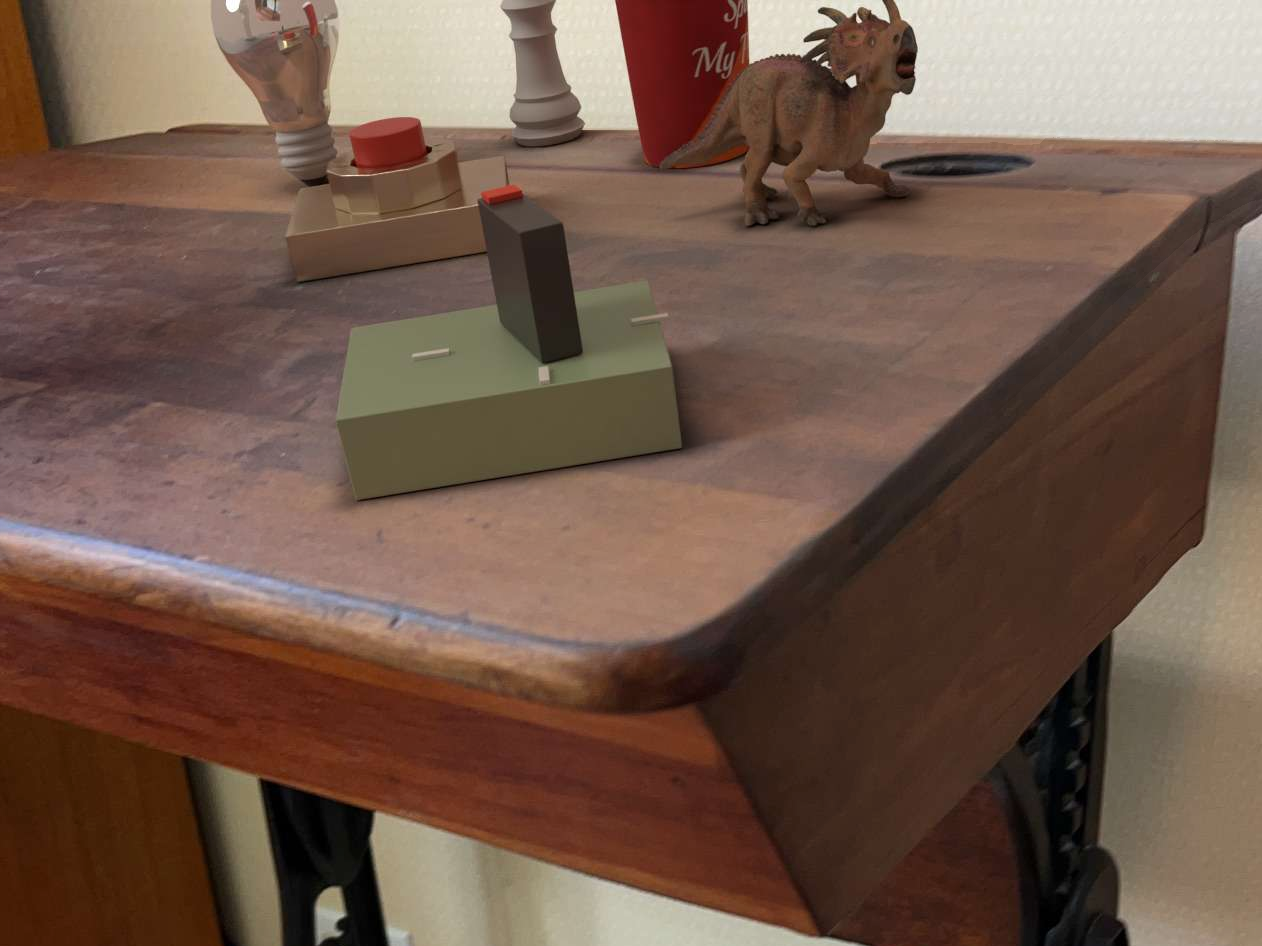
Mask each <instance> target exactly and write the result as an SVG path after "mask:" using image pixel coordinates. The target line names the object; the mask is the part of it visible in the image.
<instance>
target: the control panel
mask: <svg viewBox="0 0 1262 946" xmlns="http://www.w3.org/2000/svg"><path fill="white" fill-rule="evenodd" d="M574 297H575V303H576V310H577V316H578V322H579V329H580V335H581V341H582V348H583V353H581V354H577V355H573V356H569V357H566V358H562V359H558V360H554V361H550V362H546V363H541V362H540V361H539V360H538V359H537V358H536V357H535V356H534V355H533V354H532V353H531V352H530V351H529V350H528V349H527V348H526V347H525V346H524V345H523V344H522V343H521V342H520V341H519V340H518V339H517V338H516V337H515V336H514V335H513V334H511V333H510V332H509V331H508V330H507V329H506V328H505V327H504V326H503V325H502V324H501V323H500V319H499V313H498V308H497V304H491V305H486V306H479V307H474V308H467V309H461V310H455V311H448V312H441V313H435V314H430V315H424V316H418V317H412V318H404V319H399V320H393V321H386V322H380V323H374V324H367V325H362V326H356V327H351V329H350V333H349V340H348V344H347V350H346V357H345V362H344V363H345V364H344V368H343V372H342V373H343V375H342V380H341V384H340V385H341V387H340V390H339V391H340V392H339V398H338V404H337V410H336V414H335V426H336V428H337V432H338V436H339V440H340V444H341V448H342V451H343V456H344V458H345V459H344V460H345V463H346V467H347V471H348V475H349V479H350V483H351V487H352V490H353V494H354V498H355V500H356V501H359V500H366V499H372V498H379V497H384V496H385V497H386V496H391V495H398V494H403V493H404V494H405V493H409V492H416V491H422V490H429V489H434V488H441V487H448V486H454V485H460V484H466V483H473V482H478V481H479V482H480V481H484V480H485V481H486V480H490V479H498V478H503V477H509V476H516V475H523V474H528V473H535V472H540V471H546V470H547V471H548V470H553V469H559V468H566V467H572V466H579V465H585V464H591V463H598V462H604V461H609V460H617V459H623V458H628V457H635V456H642V455H648V454H654V453H661V452H667V451H671V450H678V449H682V448H683V442H682V436H681V435H682V434H681V426H680V418H679V411H678V410H679V409H678V401H677V395H676V385H675V378H674V377H675V376H674V369H673V363H672V360H671V357H670V353H669V350H668V345H667V343H666V339H665V336H664V332H663V328H662V325H661V322H665V321H669V320H670V316H669V312H664V313H658V310H657V306H656V303H655V299H654V296H653V292H652V289H651V285H650V281H649V280H641V281H640V280H639V281H635V282H628V283H622V284H615V285H609V286H604V287H597V288H591V289H585V290H578V291H574Z"/></svg>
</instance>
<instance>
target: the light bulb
mask: <svg viewBox="0 0 1262 946" xmlns="http://www.w3.org/2000/svg"><path fill="white" fill-rule="evenodd" d="M210 20H211V25H212V32H213V35H214V37H215V41H216V43H217V45H218V46H217V47H218V49H219V50H220V52H221V54H222V56H223V57H224V60H225V61H226V62H227V64H228V65H229V67H230V68H231V69H232V70H233V71H234V73H235V74H236V75H237V76H238V78H240V79H241V81H242V82H243V83H244V84H245V86H247V88H248V89H249V90H250V91H251V93H252V94H253V96H254V97H255V98H256V100H257V102H258V104H259V106H260V109H261V112H262V114H263V117H264V119H265V121H266V122H267V124H268V125H269V127H271V129H272V130H273V131H274V132H275V134H276V136H275V138H274V139H275V140H274V142H275V144H276V145H278V150H277V153H278V156H280V157H281V158H282V159H281V161H280V165H281V166H282V167H283V168H284V169H285V170H286V171H287V172H288V173H289V174H291V175H292V176H293V178H295V179H297V180H299V181H300V182H302V183H304V185H305V186H319V185H322V184H323V183H324V182H326V179H327V178H328V176H327V167H328V164H329V162H330V161H332V160H333V159H335V158H337V155H338V150H337V148H336V147H334V145H335V142H336V140H335V137H334V136H332V134H331V133H332V132H333V128H332V126H331V125H329V120H330V119H329V118H330V115H331V109H332V102H331V89H330V83H331V75H332V71H333V67H334V63H335V59H336V56H337V52H338V47H339V42H340V29H341V27H340V25H341V24H340V17H339V10H338V7H337V4H336V0H211V1H210Z"/></svg>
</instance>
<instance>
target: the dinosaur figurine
mask: <svg viewBox="0 0 1262 946" xmlns="http://www.w3.org/2000/svg"><path fill="white" fill-rule="evenodd" d="M881 1H882V3H883V5H884V6H885V9H886V11H887V15H888V19H889V21H887V20H885V19H881V18H879V17H878V16H877V15H876V14H873V12H872V10H871V9H868V8H866V7H864V6H860V7H859V8H858V9H857V11H856V12H853V14H851V16H849V17H848V16H847V15H846V14H845V13H843V11H841V10H838V9H836V8H833V7H826V6H822V7H820V8H818V9H817V13H818V14H819V15H823V16H826V17H827V18H829V19H830V20H831V21H833V22H834V23H835V24H836V25H834V26H833V27H824V28H823V27H822V28H818V29H816V30H813V31H812V32H810V33H809V34H808V35H806V36H805V37H804V38H803V40H802V41H803V43H810V42H817V41H819V42H820V41H821V42H820V43H818V44H817V45H815V46H814V47H813V48H811V49H810V50H809V51H807V52H806V54H804V55H802V56H801V54H797V55H796V53H792V54H791V53H786V54H784V53H781V54H778V53H775V55H769V56H768V57H765V58H760V59H759V60H755V61H754V62H752V63H749V64H750V65H749V66H746V69H745V70H744V69H742V70H741V74H739V73H738V74H737V78H734V79H733V81H734V83H730V84H729V86H730V88H729V89H727V92H726V93H724V94H723V98H722V99H721V100H720V104H718V105H717V106H716V108H717V109H716V110H714V115H712V116H711V118H710V119H711V120H709V121H708V123H707V125H706V126H705V127H704V130H703V131H702V132H701V133H700V134H698V137H697V138H695V139H694V141H690V142H689V143H688V144H685V145H683V146H682V148H679V149H678V150H677V151H675V152H673V153H672V154H670V155H669V156H668V157H665V159H664V160H663V161H662V162H661V165H660V167H659V169H660V170H661V171H666V170H667V169H671V168H670V167H673V166H679V165H697V164H702V163H706V162H709V161H711V160H712V159H714V158H716V157H718V156H720V155H722V154H724V153H726V152H727V151H729V150H731V149H733V148H735V147H739V146H748V147H750V148H749V150H748V151H747V152H746V154H745V156H744V162H743V163H742V164H741V165H740V167H739V168H740V169H739V176H740V178H741V180H742V182H743V188H742V191H743V195H744V200H745V212H746V213H745V214H746V215H745V217H744V225H745V226H746V227H749V226H752V225H754V224H755V223H758V224H761V225H766V224H768V222H769V220H776V219H778V218H779V216H780V214H779V212H778V211H776V210H775V209H773V208H769V202H768V201H767V199H774V198H776V195H778V190H777V189H776V188H774V187H770V186H768V185H767V184H766V183H763V179H762V178H763V177H764V176H765V174H766V173H767V171H768V169H769V167H770V166H771V163H774V164H775V165H779V166H783V167H785V168H784V170H783V171H782V179H783V182H784V184H785V186H786V188H787V189H788V191H789V193H791V194H792V196H793V197H794V199H795V200H796V202H797V205H798V209H799V210H798V212H797V218H800V220H801V223H805V222H806V223H807V224H808V226H812V227H816V226H817V225H818V224H826V223H827V220H828V219H829V218H830V215H829V214H827V213H825V212H820V211H819V210H818V209H817V208H816V204H815V200H814V198H813V195H812V193H811V189H810V187H809V184H808V182H807V181H806V180H807V179H809V178H811V177H812V176H813V175H814V174H815V173H816V171H817V170H819V171H821V172H825V173H826V172H827V173H830V172H837V171H840V172H843V176H844V178H845V179H846V180H848V181H850V182H852V183H854V184H855V185H861V186H862V185H872V186H873V185H874V186H876V187H877V188H878V189H879V188H880V189H883V191H884V193H886V194H887V195H888V196H889V197H891V198H902V197H907V196H909V193H910V192H912V189H911V188H910V187H909V186H907V187H906V185H902V184H898V185H897V184H895V183H894V181H893V179H892V178H891V174H890V172H889V171H888V170H885V169H880V168H877V167H875V166H873V165H871V164H869V163H865V160H864V158H865V157H866V156H867V154H868V152H869V148H870V145H871V144H870V143H871V139H872V138H873V137H874V136H875V135H876V134H877V133H879V132H880V131H881V130H882V129H883V128H884V126H885V123H886V115H887V113H888V111H889V109H890V108H891V106H892V102H893V101H892V100H893V96H894V95H896V94H900V93H902V94H904V95H906V96H909V95H911V94H912V93H913V92H914V88H915V84H916V79H917V78H916V72H915V69H916V61H917V58H918V57H917V56H918V53H919V46H918V43H917V40H916V34H915V31H914V28H913V26H911V25H910V24H909V23H908V22H907V21H906V20H903V19H902V17H901V14H900V10H899V8H898V5H897V3H896V1H895V0H881ZM857 17H858V18H859V20H860V21H861V22H858V20H857ZM819 56H820V57H819ZM817 57H819V58H817ZM815 58H817V59H815ZM826 62H827V65H822V64H824V63H826ZM854 76H855V82H856V83H855V84H856V85H853V86H850V85H849V83H848V82H847V80H848V79H850V78H852V77H854Z"/></svg>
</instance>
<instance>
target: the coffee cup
mask: <svg viewBox="0 0 1262 946" xmlns="http://www.w3.org/2000/svg"><path fill="white" fill-rule="evenodd" d="M748 1H749V0H614V3H615V7H616V14H617V20H618V24H619V31H620V36H621V41H622V42H621V43H622V47H623V53H624V54H623V55H624V59H625V63H626V64H625V65H626V70H627V75H628V76H627V77H628V81H629V86H630V93H631V98H632V103H633V109H634V113H635V118H636V124H637V129H638V134H639V139H640V146H641V148H642V153H643V158H644V160H645V163H646V164H648V165H649V166H652V167H656V168H660V165H661V162H662V161H663V160H664V159H665V157H668V156H669V155H670V154H672V153H673V152H675V151H677V150H678V149H679V148H682V146H683V145H685V144H688V143H689V142H690V141H694V139H695V138H697V137H698V134H700V133H701V132H702V131H703V130H704V127H705V126H706V125H707V123H708V121H709V120H711V119H710V118H711V116H712V115H714V110H716V109H717V108H716V106H717V105H718V104H720V100H721V99H722V98H723V94H724V93H726V92H727V89H729V88H730V86H729V84H730V83H734V81H733V79H734V78H737V74H738V73H739V74H741V70H742V69H744V70H745V69H746V66H749V65H750V64H751V63H750V40H749V39H750V38H749V36H750V35H749V5H748V4H749V3H748ZM749 149H750V147H748V146H739V147H735V148H733V149H731V150H729V151H727V152H726V153H724V154H722V155H720V156H718V157H716V158H714V159H712V160H711V161H709V162H706V163H702V164H697V165H679V166H673V167H670V168H669V169H689V168H697V167H703V166H710V165H714V164H718V163H722V162H727V161H730V160H732V159H735V158H738V157H740V156H743V155H744V154H745V153H747V152H748V151H749Z"/></svg>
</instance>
